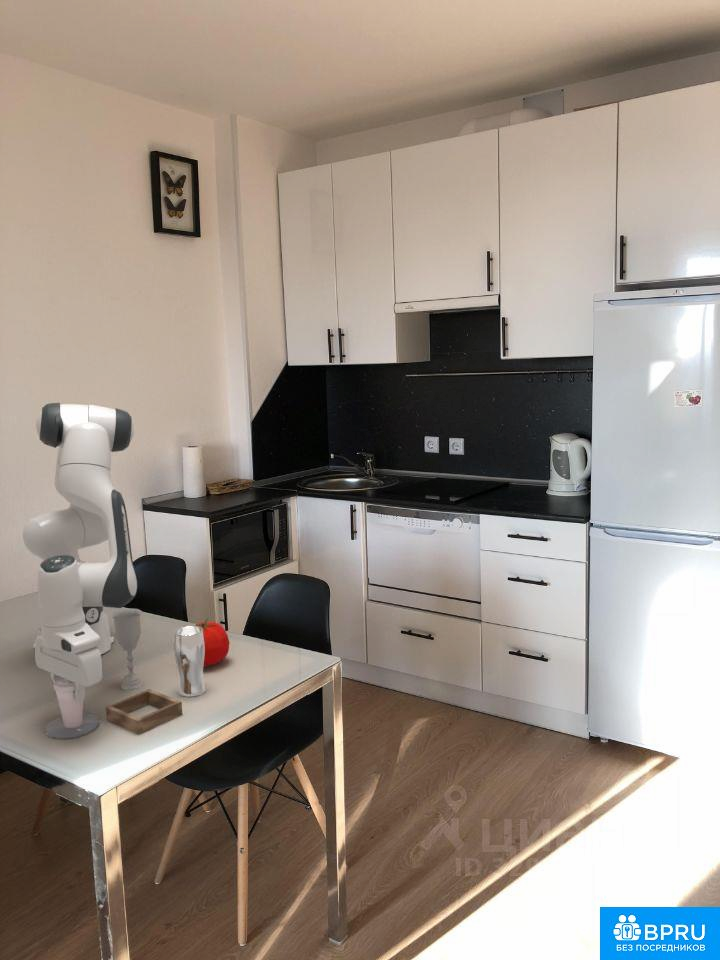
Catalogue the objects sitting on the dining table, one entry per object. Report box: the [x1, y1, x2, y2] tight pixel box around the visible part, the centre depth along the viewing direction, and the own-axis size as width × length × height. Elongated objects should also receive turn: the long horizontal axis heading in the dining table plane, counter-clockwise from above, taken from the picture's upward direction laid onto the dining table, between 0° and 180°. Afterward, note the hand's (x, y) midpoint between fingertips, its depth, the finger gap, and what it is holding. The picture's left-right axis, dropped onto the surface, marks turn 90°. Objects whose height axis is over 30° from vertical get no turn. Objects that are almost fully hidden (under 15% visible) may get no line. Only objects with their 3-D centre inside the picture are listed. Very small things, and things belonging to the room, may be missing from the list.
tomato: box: [194, 618, 230, 667], centre depth 208 cm, size 12×12×11 cm
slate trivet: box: [44, 712, 101, 740], centre depth 177 cm, size 11×11×1 cm
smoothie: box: [53, 678, 84, 728], centre depth 176 cm, size 6×6×14 cm
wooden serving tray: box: [105, 689, 183, 735], centre depth 180 cm, size 12×12×3 cm
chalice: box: [111, 608, 144, 690], centre depth 196 cm, size 7×7×18 cm
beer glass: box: [173, 625, 206, 698], centre depth 192 cm, size 7×7×15 cm
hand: (70, 695), depth 176 cm, fingers closed on smoothie, 5 cm apart
